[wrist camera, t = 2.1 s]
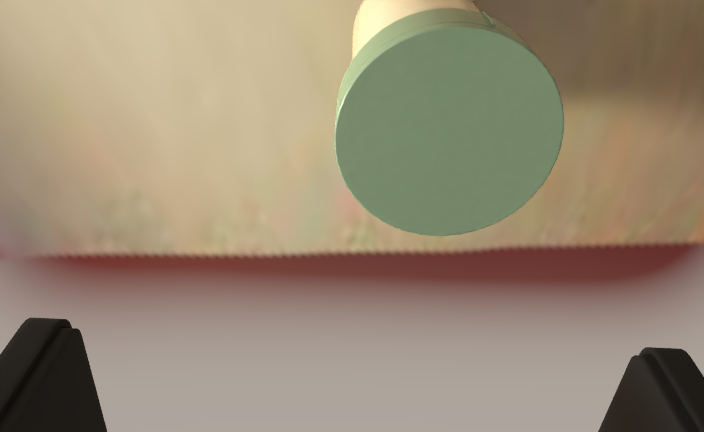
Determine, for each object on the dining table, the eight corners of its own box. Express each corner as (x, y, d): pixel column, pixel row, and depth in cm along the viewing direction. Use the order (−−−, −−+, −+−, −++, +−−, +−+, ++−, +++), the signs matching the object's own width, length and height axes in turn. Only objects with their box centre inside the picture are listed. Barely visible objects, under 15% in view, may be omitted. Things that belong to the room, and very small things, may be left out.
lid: (376, -27, 18) (378, -12, 16) (584, 45, 19) (611, 67, 17) (312, 172, 22) (307, 205, 20) (489, 222, 23) (501, 258, 21)
